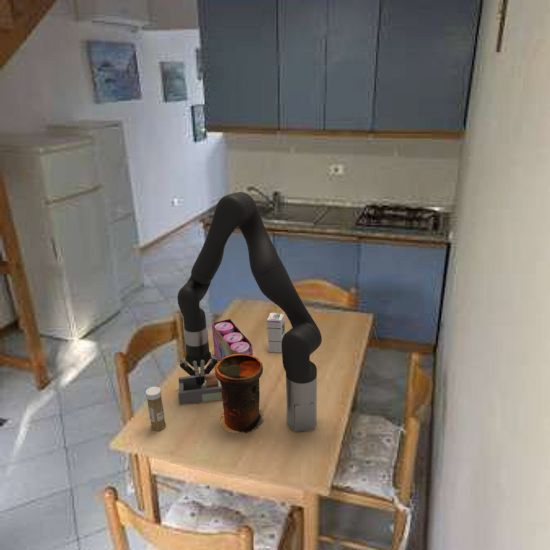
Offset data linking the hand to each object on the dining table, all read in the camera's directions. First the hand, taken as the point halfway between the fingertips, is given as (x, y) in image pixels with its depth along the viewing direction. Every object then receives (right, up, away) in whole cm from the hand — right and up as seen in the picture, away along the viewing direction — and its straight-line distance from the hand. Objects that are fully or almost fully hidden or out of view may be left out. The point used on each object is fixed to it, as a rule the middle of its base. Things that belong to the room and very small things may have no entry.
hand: (200, 384), depth 166 cm
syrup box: (+26, +8, +27) cm, 38 cm away
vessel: (+15, -9, -11) cm, 20 cm away
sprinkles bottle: (-11, -10, -13) cm, 20 cm away
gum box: (+10, +3, +17) cm, 20 cm away
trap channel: (+4, -3, +2) cm, 6 cm away
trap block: (+4, 0, +1) cm, 4 cm away
